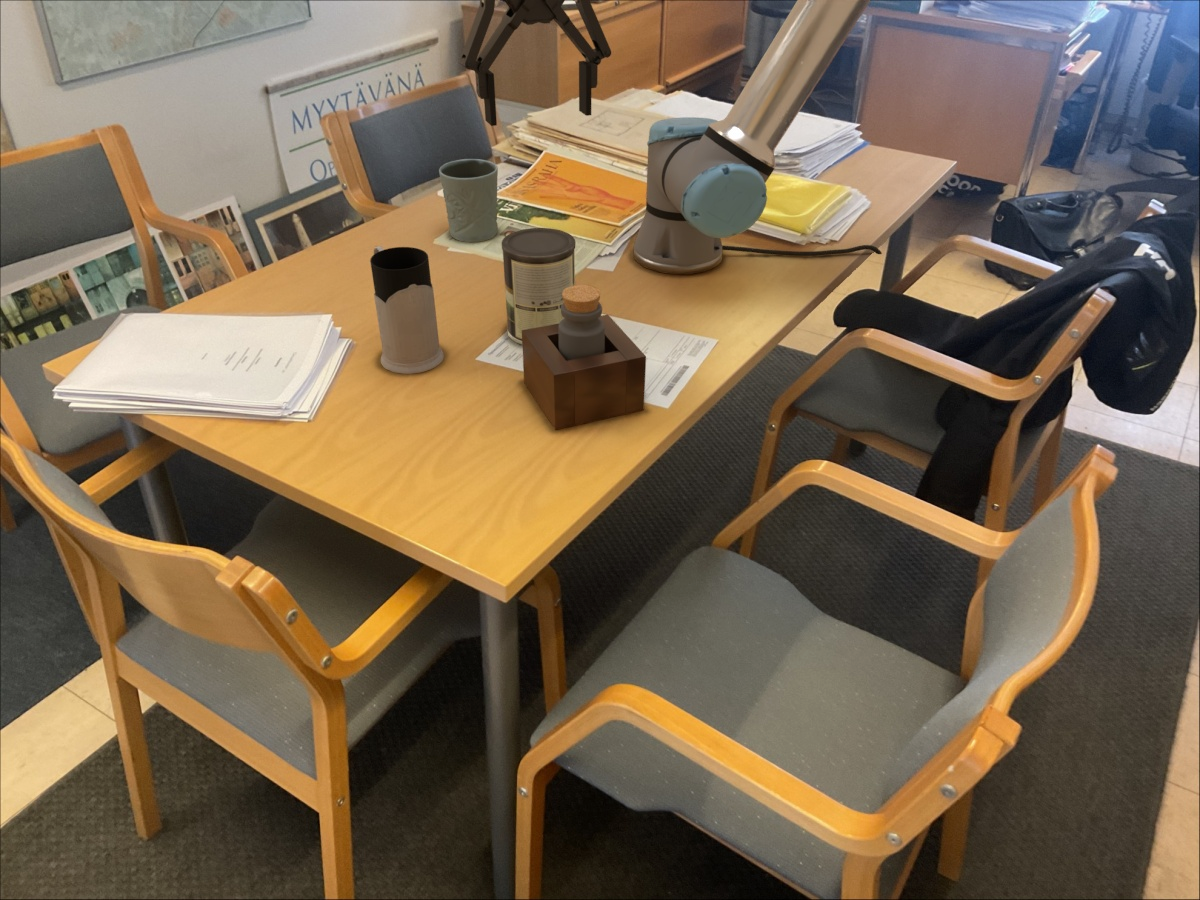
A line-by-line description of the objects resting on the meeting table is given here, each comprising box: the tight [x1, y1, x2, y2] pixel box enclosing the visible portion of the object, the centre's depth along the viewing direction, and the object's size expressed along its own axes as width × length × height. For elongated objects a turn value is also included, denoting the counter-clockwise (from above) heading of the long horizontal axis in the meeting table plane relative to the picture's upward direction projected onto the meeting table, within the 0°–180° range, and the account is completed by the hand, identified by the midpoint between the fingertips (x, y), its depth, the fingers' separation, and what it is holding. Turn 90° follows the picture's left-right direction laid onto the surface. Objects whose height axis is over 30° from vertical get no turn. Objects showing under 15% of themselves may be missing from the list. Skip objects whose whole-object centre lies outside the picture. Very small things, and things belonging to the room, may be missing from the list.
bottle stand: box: [521, 314, 647, 431], centre depth 116 cm, size 12×12×8 cm
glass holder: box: [369, 245, 445, 375], centre depth 124 cm, size 9×14×15 cm, turn 32°
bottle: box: [558, 284, 605, 361], centre depth 114 cm, size 6×6×15 cm
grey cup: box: [438, 158, 499, 243], centre depth 160 cm, size 10×10×12 cm
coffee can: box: [501, 227, 577, 346], centre depth 129 cm, size 10×10×14 cm
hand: (539, 118), depth 123 cm, fingers open, 13 cm apart
